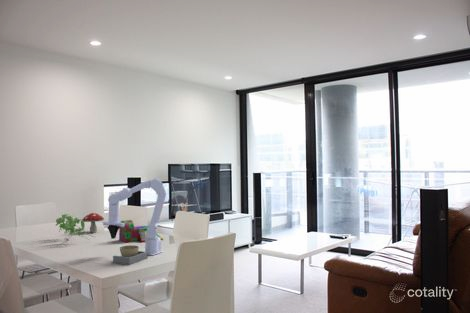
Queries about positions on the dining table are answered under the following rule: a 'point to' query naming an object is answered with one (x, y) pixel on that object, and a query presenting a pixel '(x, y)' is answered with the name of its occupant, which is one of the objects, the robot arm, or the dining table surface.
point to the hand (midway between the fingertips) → (113, 238)
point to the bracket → (130, 258)
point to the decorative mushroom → (93, 220)
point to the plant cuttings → (70, 225)
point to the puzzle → (133, 232)
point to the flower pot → (129, 250)
